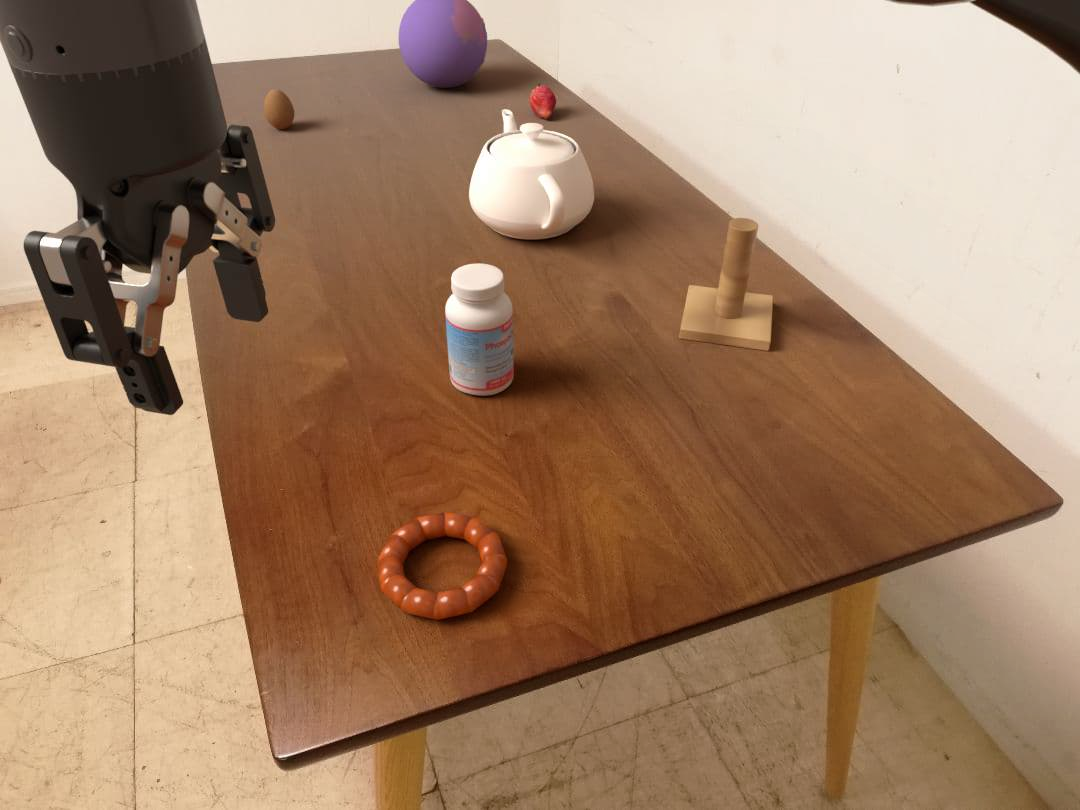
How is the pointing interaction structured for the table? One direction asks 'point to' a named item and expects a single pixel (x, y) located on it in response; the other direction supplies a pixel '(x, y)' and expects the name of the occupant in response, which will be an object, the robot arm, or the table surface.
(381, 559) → the ring
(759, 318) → the post
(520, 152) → the teapot
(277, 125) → the egg
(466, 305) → the pill bottle
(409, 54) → the decorative ball
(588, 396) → the table surface
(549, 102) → the fruit
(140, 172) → the robot arm
